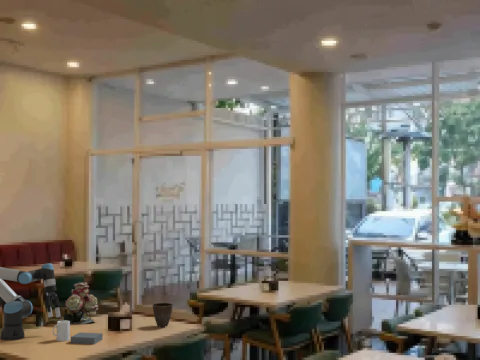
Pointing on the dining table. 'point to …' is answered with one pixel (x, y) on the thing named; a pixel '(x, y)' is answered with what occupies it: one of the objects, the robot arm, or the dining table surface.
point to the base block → (86, 338)
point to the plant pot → (162, 313)
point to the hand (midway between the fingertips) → (54, 317)
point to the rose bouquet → (80, 304)
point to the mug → (62, 330)
